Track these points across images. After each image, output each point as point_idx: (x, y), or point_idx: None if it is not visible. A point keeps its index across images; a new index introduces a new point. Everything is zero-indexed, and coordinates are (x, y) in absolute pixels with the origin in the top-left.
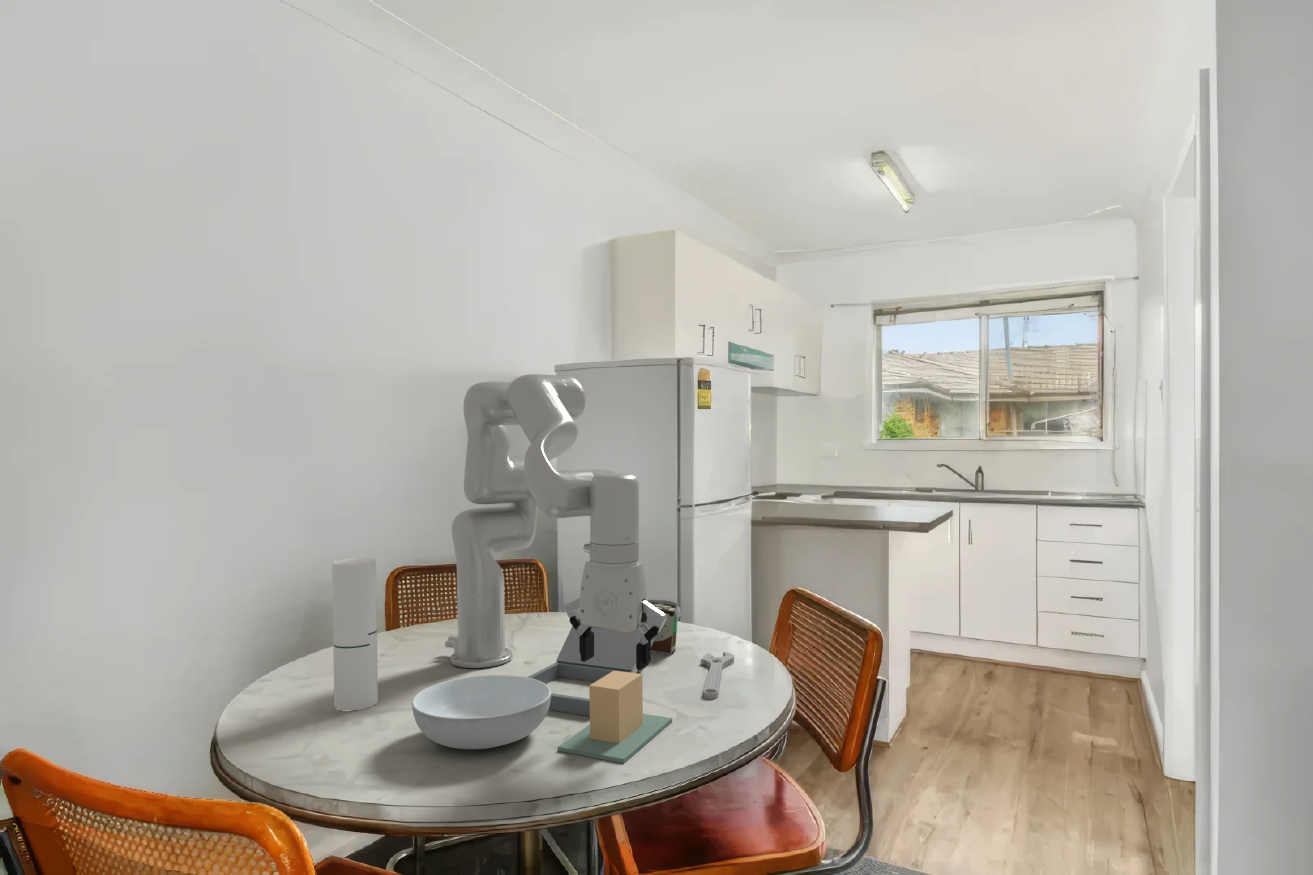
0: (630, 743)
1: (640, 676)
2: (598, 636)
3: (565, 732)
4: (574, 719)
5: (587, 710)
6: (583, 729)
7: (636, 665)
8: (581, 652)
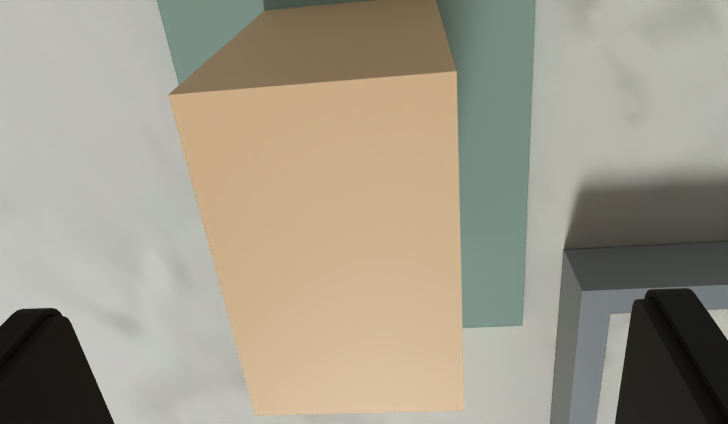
0: (219, 37)
1: (250, 389)
2: None
3: (619, 40)
4: (648, 193)
5: (613, 261)
6: (527, 78)
7: (42, 332)
8: (719, 348)
